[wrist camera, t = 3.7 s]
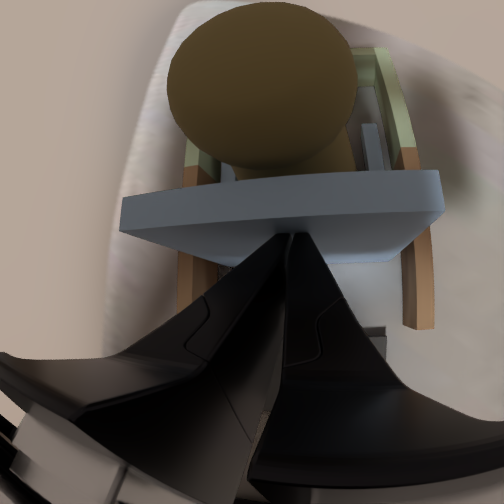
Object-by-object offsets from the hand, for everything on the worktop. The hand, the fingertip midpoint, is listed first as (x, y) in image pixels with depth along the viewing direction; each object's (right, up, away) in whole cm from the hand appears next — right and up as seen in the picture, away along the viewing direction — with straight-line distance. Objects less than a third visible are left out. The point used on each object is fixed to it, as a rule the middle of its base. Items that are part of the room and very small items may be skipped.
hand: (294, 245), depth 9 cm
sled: (+2, +3, +7) cm, 8 cm away
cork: (+2, +3, +8) cm, 8 cm away
